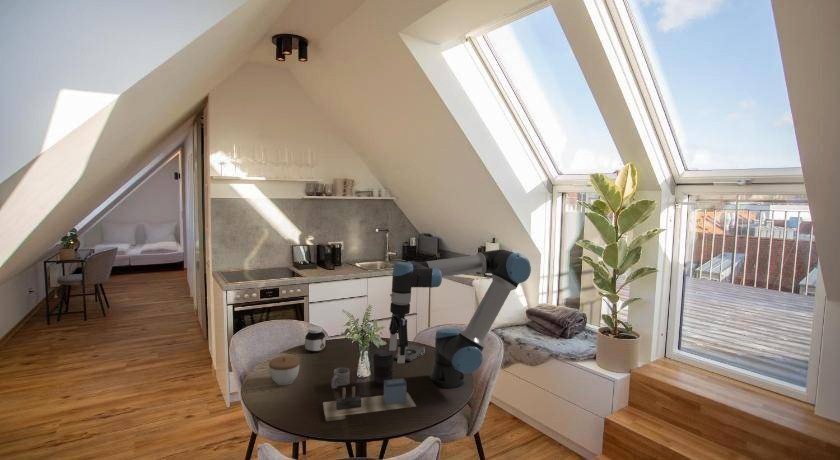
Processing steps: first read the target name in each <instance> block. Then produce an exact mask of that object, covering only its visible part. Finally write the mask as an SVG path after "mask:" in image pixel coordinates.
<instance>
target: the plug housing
mask: <svg viewBox="0 0 840 460" xmlns="http://www.w3.org/2000/svg"><path fill="white" fill-rule="evenodd" d="M407 389H408V388H407V381H406V379H405V378H404V377H402V378H392V379H391V380H384V387H383V395H384V402H385V404H386V405H391V404H399V403H406V393H407Z"/></svg>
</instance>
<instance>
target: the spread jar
mask: <svg viewBox="0 0 840 460" xmlns="http://www.w3.org/2000/svg"><path fill="white" fill-rule="evenodd" d="M307 331H308V332H307V333H306V335H305V337H304V348H305V350H306V351H308V352H309V353H312V354H316V353H321V352H322V351H323V350H324V349H325V347H326V333H324V331H323V328H322V327H321V326H318V325H317V326H309V327H308V330H307Z"/></svg>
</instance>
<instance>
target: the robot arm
mask: <svg viewBox="0 0 840 460" xmlns="http://www.w3.org/2000/svg"><path fill="white" fill-rule="evenodd" d="M475 273H479V274H480V275H484V274H486V275H487V274H491V278H492V279H491V280H492V281H491V283H490V285H489V287H488V289H487V290H486V292H485V293H484V296H483V297H482V299H481V301H480V303H479V305H478V306H477V308H476V309H475V312H474V314H473V315H472V317H471V318H470V320H469V323H468V324H467V326H466V327H465V329H464V330H461V329H459V328H451V327H450V328H440V329H438V330H436V331H435V332H436V333H435V337H434V340H435V342H434V345H435V346H434V347H435V348H434V356H435V357H434V364H433V367H432V370H431V373H430V381H431V382H432V384H433V385H434V386H436V387H440V388H447V389H448V388H449V389H450V388H451V389H452V388H453V389H454V388H459V387H462V386H463V385H464V384H465V383H466V382H465V380H466V379H465V378H466V377H465V376H466V375H467V374H472V373H474V372H476V371H478V369H480V367H481V366H482V364H483V361H484V360H483V359H484V358H483V353H482V352H483V350H484V348H485V343H484V341H485V338H486V336H487V335H488V333H489V331H490V329H492V326H493V324H494V323H495V320H496V319H497V316H498V315H499V314H500V312H501V309H502V307H503V306H504V304H505V302H506V300H507V299H508V297H509V295H510V294H511V291H513V290H516V289H517V288H518V287H519V285H520V284H522V283H524V282H526V281H528V279H529V277H530V276H531V273H532V266H531V263H530V260H529V259H528V258H527V256H526V255H524V254H521V253H519V252H513V251H509V250H505V249H494V250H487V251H480V252H477V253H476V254H474V255H467V256H460V257H459V256H458V257H451V258H450V257H449V258H443V259H436V260H428V261H419V262H417V261H412V260H411V261H408V262H407V261H406V262H405V261H397V262H395V263H394V264H393V269H392V273H391V275H392V281H391V293H390V294H389V296H390V297H391V298H390V301H391V302H390V307H389V308H390V309H389V310H390V311H389V312H390V313H391V319H390V323H389V328H388V330H389V334H390V335H389V346H388V347H389V349H388V350H389V351H391V352H392V351H393V352H394V351H397V354H398V358H396V359H397V361H396V363H397V364H405V363H406V360H405V352H406V347H407V346H408V344H409V343H408V342H409V341H408V319H406V318H405V316H406V315H409V313H411V312H410V311H411V304H410V303H411V300H412V299H411V297H412V288H430V289H433V288H438V287H440V286H441V285H442V282H443V278H444V277H445V278H446V277H453V276H461V275H467V274H475ZM397 341H398V342H399V343H398V342H397ZM397 343H398V344H397ZM465 374H466V375H465Z"/></svg>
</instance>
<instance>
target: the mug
mask: <svg viewBox="0 0 840 460" xmlns="http://www.w3.org/2000/svg"><path fill="white" fill-rule="evenodd" d="M330 382H331V389H332V390H334V389H336V390H339V387H343V386H347V385H350V369H349V368H348V367H338V368H335V369H334V370H333V377H332V378H331V381H330Z"/></svg>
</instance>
